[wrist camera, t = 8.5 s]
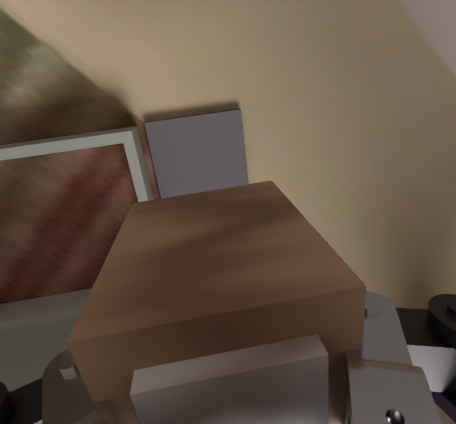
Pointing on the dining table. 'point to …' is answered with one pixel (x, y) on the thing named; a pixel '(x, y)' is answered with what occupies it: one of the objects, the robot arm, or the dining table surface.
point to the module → (220, 314)
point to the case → (65, 302)
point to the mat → (198, 152)
